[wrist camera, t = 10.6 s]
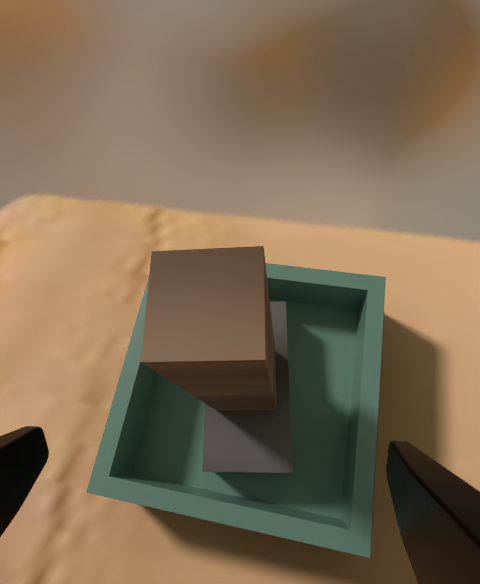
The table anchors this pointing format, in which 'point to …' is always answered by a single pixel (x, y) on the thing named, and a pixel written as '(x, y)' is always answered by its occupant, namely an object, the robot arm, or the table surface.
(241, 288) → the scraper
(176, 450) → the box
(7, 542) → the table surface
